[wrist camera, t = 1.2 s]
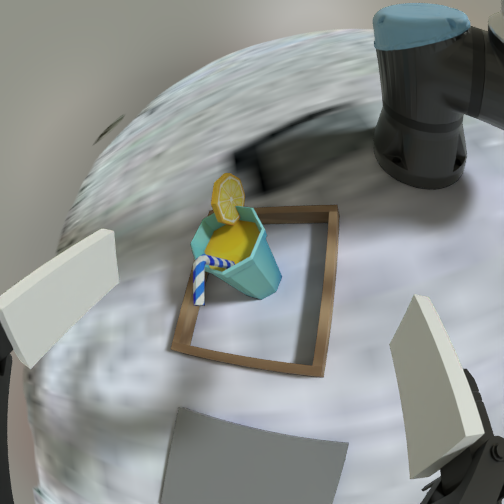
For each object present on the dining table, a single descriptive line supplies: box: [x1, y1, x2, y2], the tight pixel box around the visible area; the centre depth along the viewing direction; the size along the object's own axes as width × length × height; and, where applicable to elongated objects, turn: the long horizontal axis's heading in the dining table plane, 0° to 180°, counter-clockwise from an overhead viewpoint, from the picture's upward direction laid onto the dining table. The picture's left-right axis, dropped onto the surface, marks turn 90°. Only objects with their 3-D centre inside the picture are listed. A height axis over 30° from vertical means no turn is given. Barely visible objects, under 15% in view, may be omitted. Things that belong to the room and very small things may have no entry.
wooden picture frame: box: [171, 205, 339, 377], centre depth 34 cm, size 20×18×2 cm
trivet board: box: [161, 407, 349, 504], centre depth 23 cm, size 16×20×1 cm
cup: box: [190, 173, 282, 306], centre depth 29 cm, size 14×8×15 cm, turn 179°
